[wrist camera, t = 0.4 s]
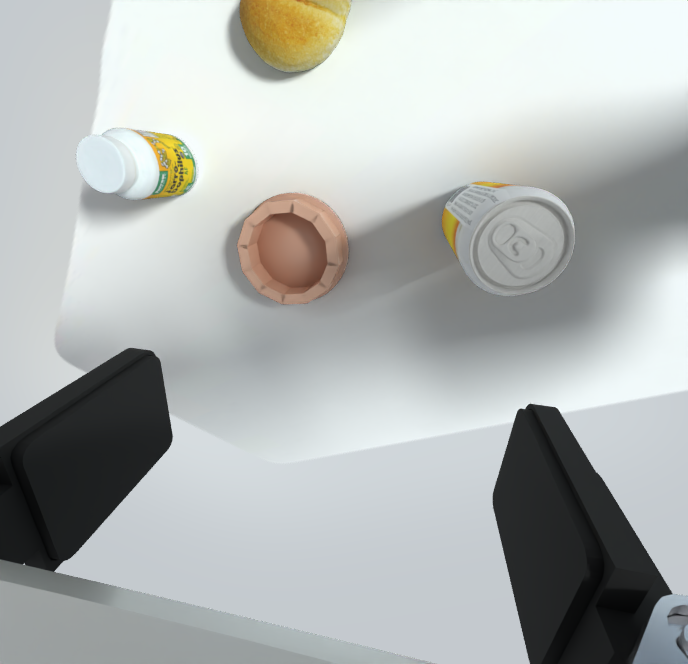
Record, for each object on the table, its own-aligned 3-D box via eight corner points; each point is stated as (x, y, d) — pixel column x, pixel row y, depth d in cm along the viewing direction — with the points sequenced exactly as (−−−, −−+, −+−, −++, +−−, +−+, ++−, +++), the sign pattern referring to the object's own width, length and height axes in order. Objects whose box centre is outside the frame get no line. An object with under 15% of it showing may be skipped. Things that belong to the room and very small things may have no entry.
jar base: (366, 223, 35) (362, 227, 32) (323, 315, 40) (316, 326, 37) (266, 172, 35) (253, 172, 32) (234, 271, 39) (220, 279, 36)
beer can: (475, 264, 35) (516, 322, 21) (427, 222, 34) (438, 255, 21) (526, 212, 33) (610, 240, 19) (476, 166, 32) (525, 160, 18)
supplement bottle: (148, 129, 35) (62, 115, 26) (201, 141, 35) (132, 131, 26) (149, 188, 37) (70, 193, 29) (199, 201, 37) (134, 209, 28)
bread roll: (237, 50, 32) (215, 34, 28) (272, -84, 28) (251, -123, 24) (324, 95, 32) (313, 84, 28) (370, -33, 28) (364, -63, 24)
